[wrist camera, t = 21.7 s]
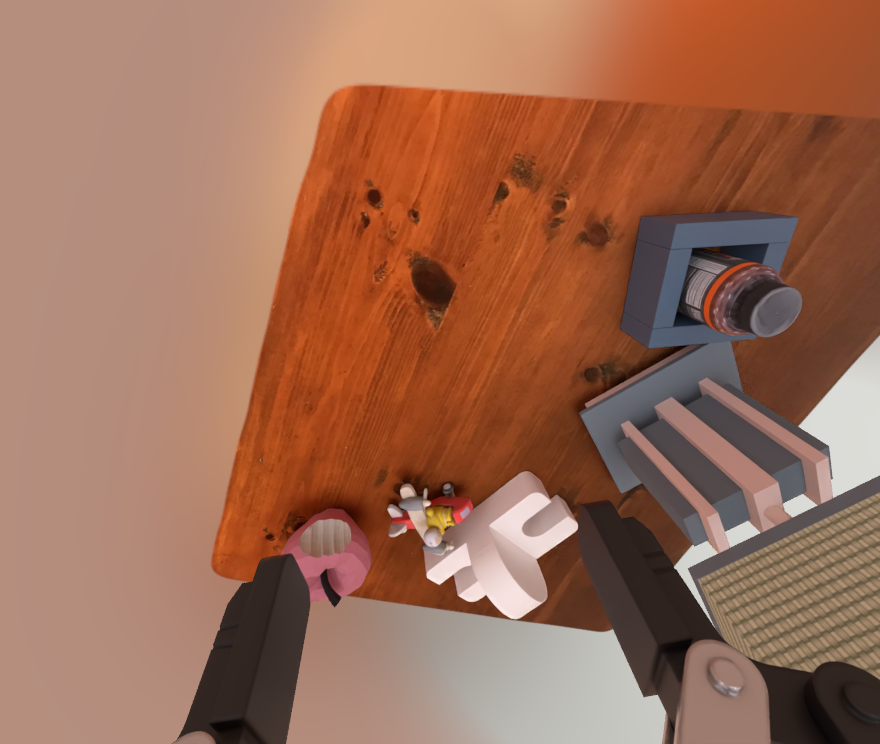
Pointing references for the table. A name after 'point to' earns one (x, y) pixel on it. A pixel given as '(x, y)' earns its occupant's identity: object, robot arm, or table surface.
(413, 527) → the toy airplane
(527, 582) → the slotted arch bracket
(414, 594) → the table surface
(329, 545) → the apple
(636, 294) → the stand
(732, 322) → the supplement bottle
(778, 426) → the desk lamp
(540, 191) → the table surface
